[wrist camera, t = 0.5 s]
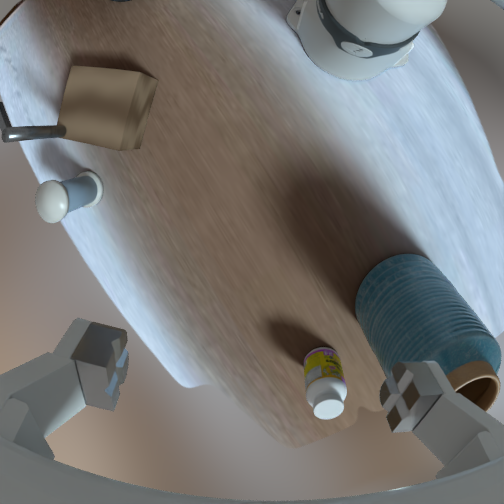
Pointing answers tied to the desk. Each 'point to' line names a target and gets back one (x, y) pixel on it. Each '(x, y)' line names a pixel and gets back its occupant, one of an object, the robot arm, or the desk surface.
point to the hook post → (27, 130)
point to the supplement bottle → (324, 382)
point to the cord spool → (68, 196)
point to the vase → (427, 326)
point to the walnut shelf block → (106, 106)
